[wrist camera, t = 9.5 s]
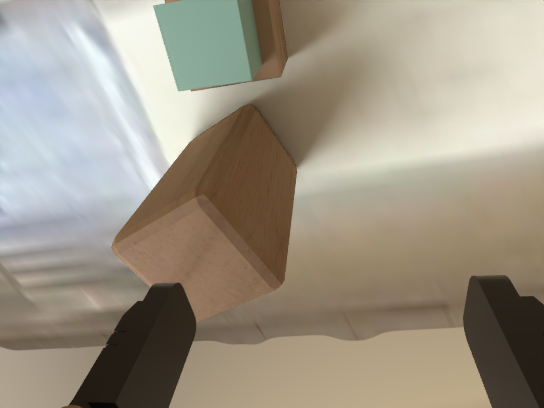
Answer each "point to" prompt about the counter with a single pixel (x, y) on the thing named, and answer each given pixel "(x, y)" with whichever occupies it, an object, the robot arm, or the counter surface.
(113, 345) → the robot arm
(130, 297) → the counter surface
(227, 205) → the block
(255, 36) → the teal cube
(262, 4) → the walnut block
